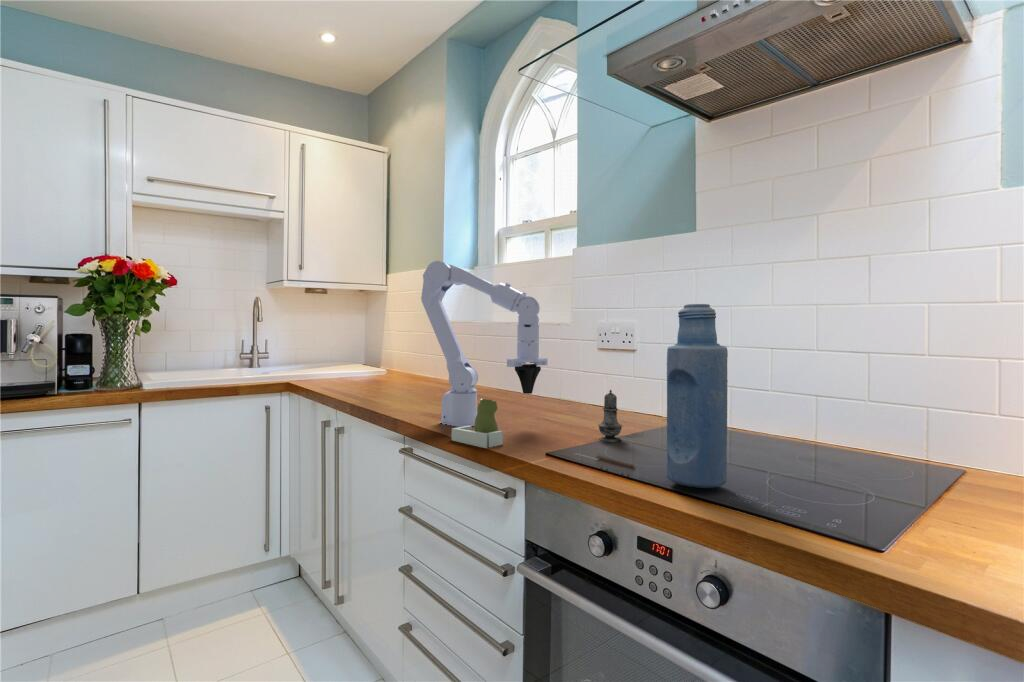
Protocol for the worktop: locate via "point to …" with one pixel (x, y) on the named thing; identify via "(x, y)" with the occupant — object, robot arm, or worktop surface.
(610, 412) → the salt shaker
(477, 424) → the pear
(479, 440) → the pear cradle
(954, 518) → the worktop surface
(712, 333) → the bottle
